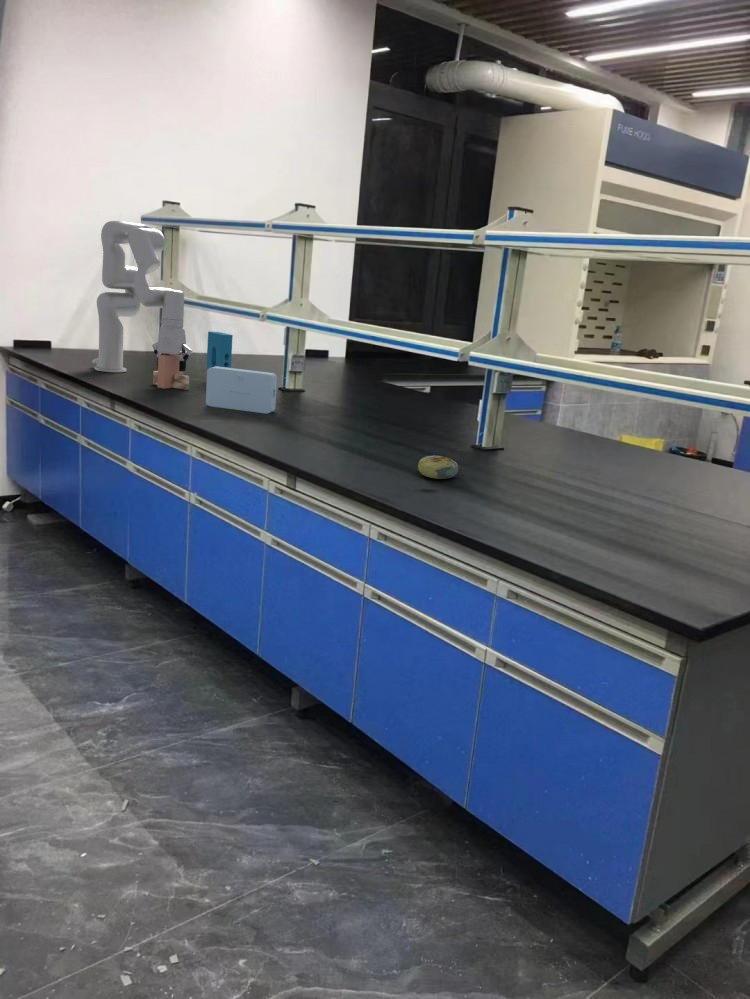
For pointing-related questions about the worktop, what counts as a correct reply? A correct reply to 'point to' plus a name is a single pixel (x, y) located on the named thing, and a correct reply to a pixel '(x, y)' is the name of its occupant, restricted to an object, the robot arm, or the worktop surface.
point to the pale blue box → (241, 389)
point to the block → (219, 350)
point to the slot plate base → (179, 382)
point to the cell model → (438, 467)
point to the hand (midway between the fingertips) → (171, 369)
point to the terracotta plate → (168, 370)
